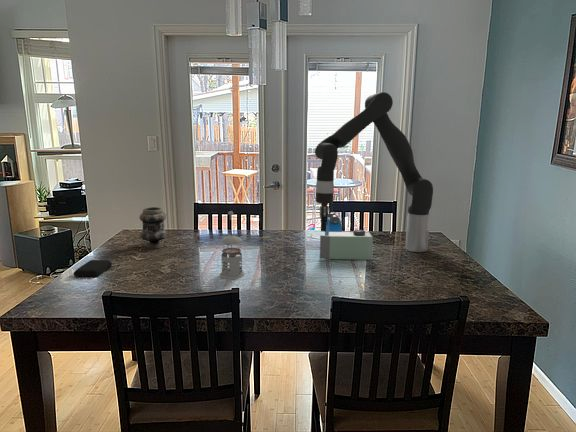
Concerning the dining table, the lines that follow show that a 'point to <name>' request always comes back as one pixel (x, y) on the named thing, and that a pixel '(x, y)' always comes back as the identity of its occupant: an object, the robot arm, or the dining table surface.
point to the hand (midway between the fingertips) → (323, 230)
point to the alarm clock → (333, 224)
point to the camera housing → (351, 234)
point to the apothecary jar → (153, 227)
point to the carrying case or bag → (93, 268)
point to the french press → (231, 258)
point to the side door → (346, 247)
